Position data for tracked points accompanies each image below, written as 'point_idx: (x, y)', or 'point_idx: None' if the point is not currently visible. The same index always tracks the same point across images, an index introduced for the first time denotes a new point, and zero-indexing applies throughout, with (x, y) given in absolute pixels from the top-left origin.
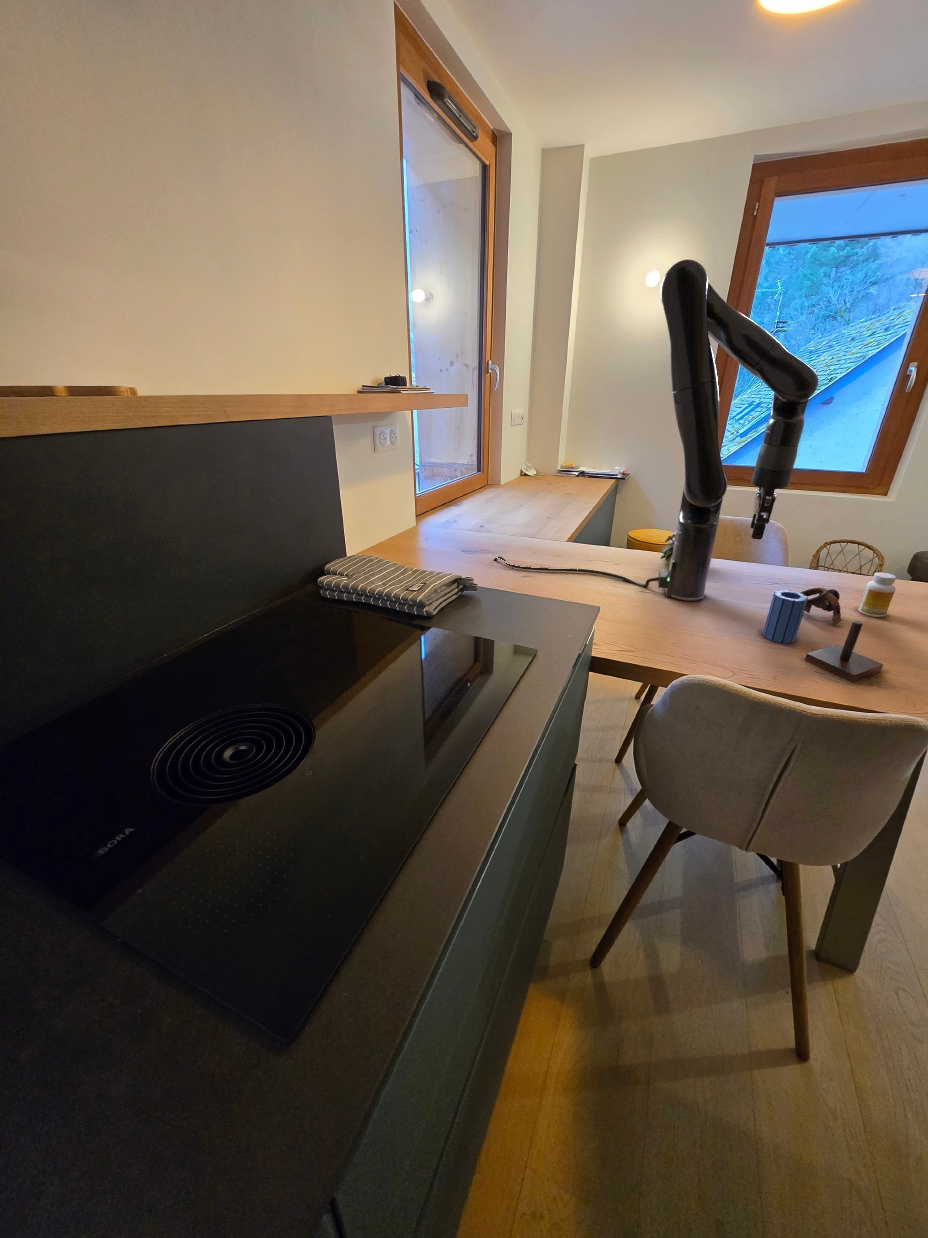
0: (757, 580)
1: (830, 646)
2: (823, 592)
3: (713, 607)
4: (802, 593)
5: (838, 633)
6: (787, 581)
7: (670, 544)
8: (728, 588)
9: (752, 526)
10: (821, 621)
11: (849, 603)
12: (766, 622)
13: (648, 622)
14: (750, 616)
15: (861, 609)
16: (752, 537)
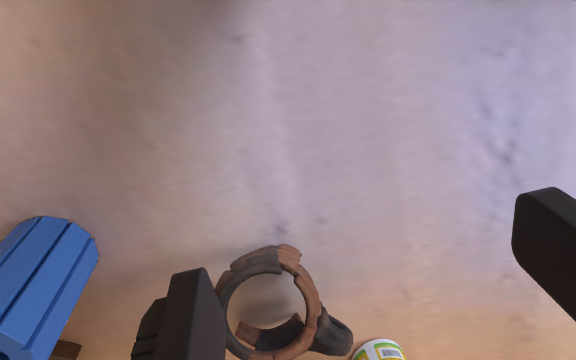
0: (519, 104)
1: (51, 356)
2: (256, 358)
3: (139, 29)
4: (298, 287)
5: None
6: (538, 183)
7: None
8: (387, 31)
9: (528, 210)
10: (253, 299)
11: (417, 319)
12: (9, 243)
13: None
14: (152, 159)
15: (364, 351)
16: (173, 279)
